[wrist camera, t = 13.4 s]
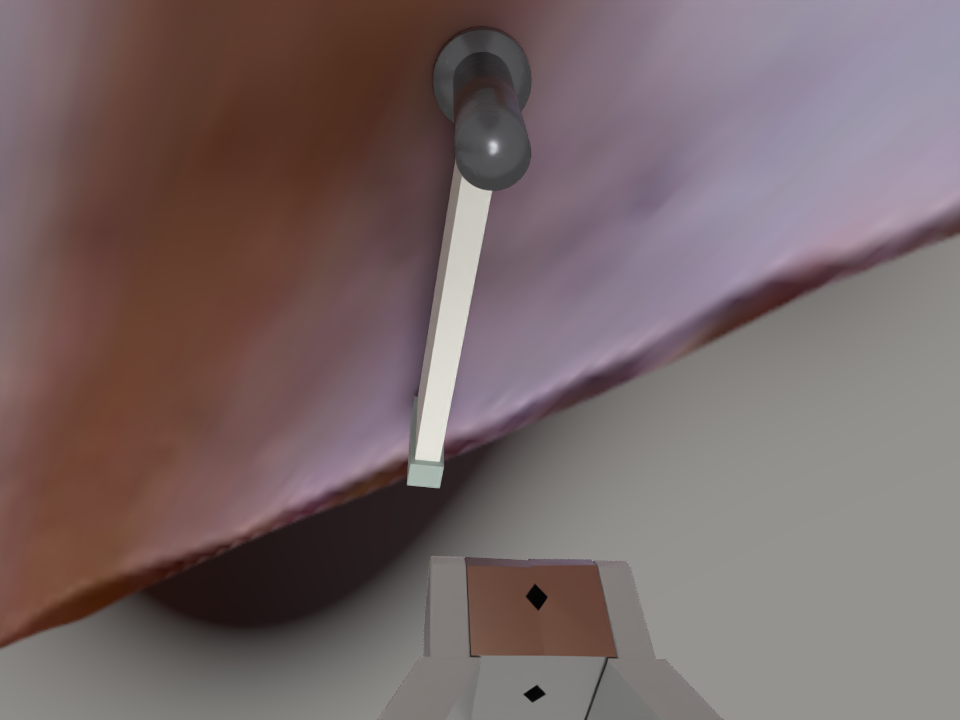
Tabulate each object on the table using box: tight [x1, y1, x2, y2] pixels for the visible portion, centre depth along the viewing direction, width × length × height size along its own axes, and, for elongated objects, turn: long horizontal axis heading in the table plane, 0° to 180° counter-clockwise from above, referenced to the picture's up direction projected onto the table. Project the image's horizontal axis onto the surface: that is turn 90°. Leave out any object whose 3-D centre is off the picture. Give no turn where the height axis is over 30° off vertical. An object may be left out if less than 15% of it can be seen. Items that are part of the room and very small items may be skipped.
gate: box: [407, 159, 492, 488], centre depth 41 cm, size 20×2×6 cm, turn 170°
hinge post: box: [433, 27, 531, 191], centre depth 33 cm, size 5×5×11 cm
